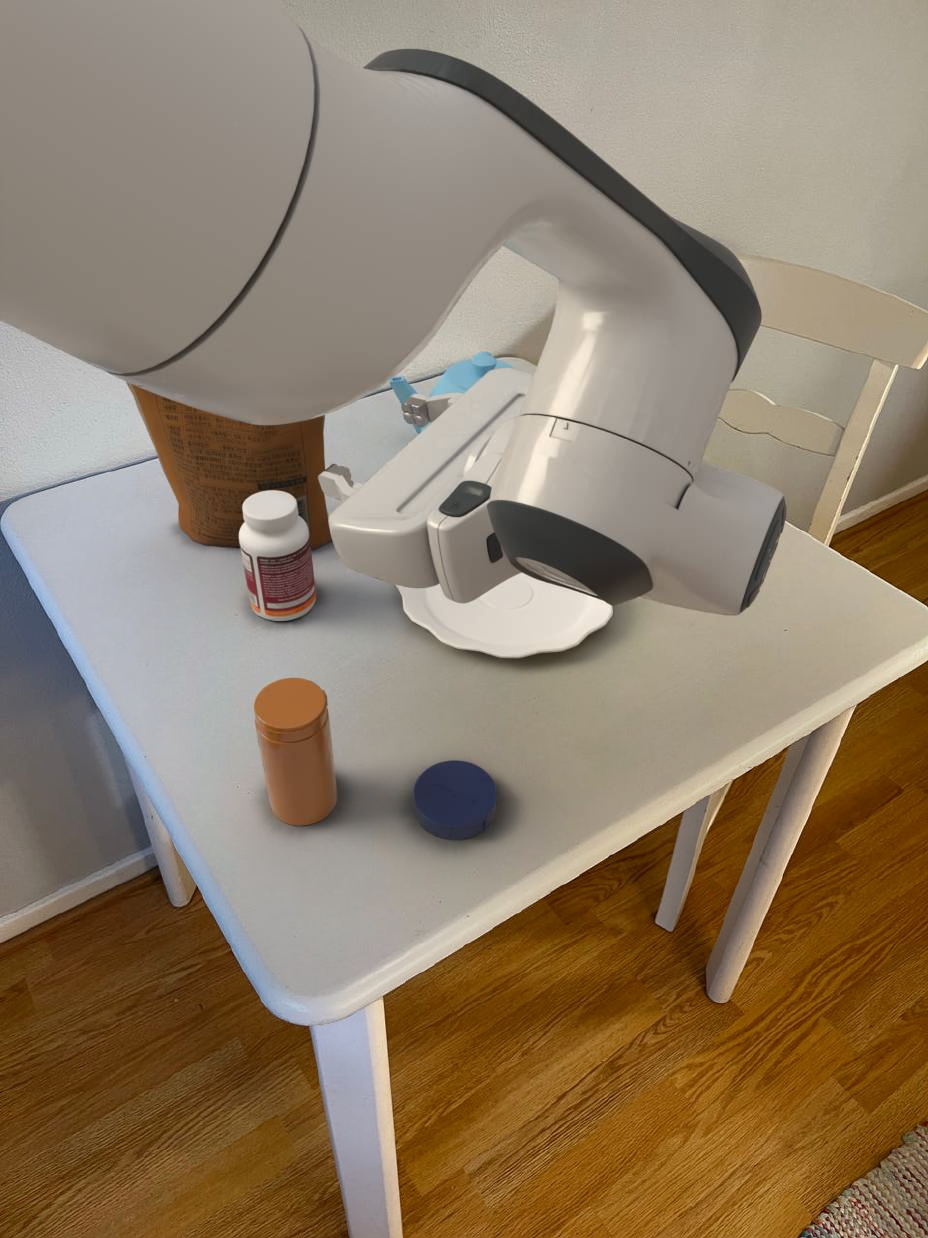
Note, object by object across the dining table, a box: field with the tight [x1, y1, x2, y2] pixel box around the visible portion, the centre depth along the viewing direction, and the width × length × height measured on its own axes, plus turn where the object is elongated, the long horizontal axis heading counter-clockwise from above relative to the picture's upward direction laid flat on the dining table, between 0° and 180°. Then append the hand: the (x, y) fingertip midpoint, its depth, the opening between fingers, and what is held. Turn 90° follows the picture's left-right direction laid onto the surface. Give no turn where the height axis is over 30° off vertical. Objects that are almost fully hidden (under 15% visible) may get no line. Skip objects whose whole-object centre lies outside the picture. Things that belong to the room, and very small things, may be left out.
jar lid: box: [413, 759, 498, 841], centre depth 67 cm, size 6×6×2 cm
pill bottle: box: [239, 490, 317, 622], centre depth 81 cm, size 6×6×11 cm
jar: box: [253, 677, 338, 827], centre depth 64 cm, size 5×5×10 cm
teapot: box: [389, 351, 517, 435], centre depth 104 cm, size 15×17×11 cm
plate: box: [394, 573, 614, 659], centre depth 86 cm, size 21×21×2 cm
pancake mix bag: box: [125, 381, 333, 551], centre depth 83 cm, size 7×19×28 cm, turn 84°
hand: (368, 441), depth 65 cm, fingers open, 8 cm apart
